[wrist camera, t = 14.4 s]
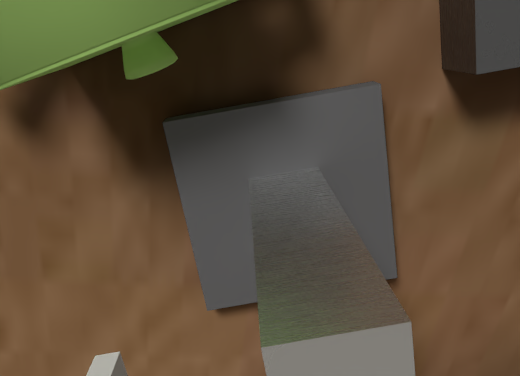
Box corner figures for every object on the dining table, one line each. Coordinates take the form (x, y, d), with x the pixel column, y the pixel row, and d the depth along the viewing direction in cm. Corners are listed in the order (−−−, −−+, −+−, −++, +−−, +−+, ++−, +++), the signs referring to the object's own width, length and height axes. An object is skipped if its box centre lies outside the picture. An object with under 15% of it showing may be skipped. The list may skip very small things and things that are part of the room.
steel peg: (248, 179, 26) (261, 347, 12) (317, 167, 26) (411, 321, 12) (260, 242, 28) (284, 461, 14) (326, 230, 28) (420, 438, 13)
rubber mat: (166, 118, 27) (162, 122, 25) (372, 81, 27) (380, 83, 25) (208, 297, 30) (207, 310, 29) (389, 266, 30) (397, 277, 29)
